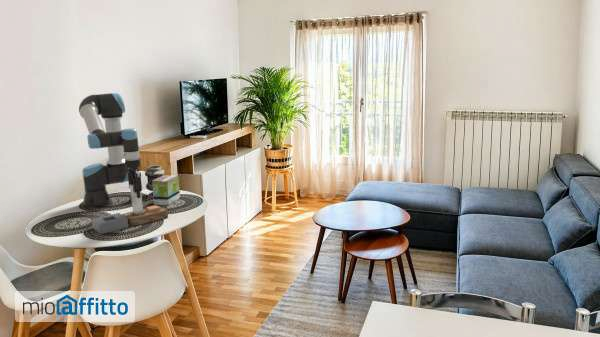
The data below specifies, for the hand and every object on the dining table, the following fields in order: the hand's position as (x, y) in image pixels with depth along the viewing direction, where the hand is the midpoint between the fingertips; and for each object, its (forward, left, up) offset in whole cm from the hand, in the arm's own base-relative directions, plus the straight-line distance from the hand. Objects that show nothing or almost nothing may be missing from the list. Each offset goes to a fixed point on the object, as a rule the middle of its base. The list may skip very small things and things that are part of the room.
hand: (137, 202), depth 252 cm
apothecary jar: (-43, +28, -10) cm, 52 cm away
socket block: (0, +3, -10) cm, 11 cm away
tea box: (-23, +26, -10) cm, 36 cm away
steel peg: (0, 0, -6) cm, 6 cm away
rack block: (0, -15, -10) cm, 18 cm away
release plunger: (0, +8, -9) cm, 12 cm away
